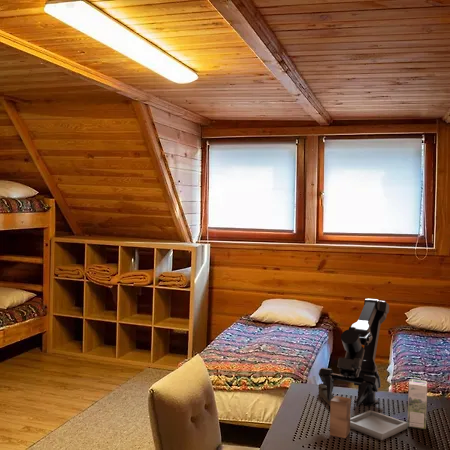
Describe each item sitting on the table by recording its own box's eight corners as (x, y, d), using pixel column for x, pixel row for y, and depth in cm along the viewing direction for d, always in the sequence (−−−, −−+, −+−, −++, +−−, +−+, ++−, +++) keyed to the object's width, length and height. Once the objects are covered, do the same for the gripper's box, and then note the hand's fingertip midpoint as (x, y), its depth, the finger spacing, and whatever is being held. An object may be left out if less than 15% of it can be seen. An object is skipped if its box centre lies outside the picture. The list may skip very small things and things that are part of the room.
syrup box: (425, 423, 190) (427, 380, 189) (425, 429, 184) (427, 385, 184) (407, 420, 192) (408, 378, 191) (407, 427, 186) (408, 383, 185)
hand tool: (342, 412, 199) (343, 399, 199) (331, 412, 199) (332, 399, 198) (326, 393, 218) (326, 381, 218) (316, 394, 217) (316, 382, 217)
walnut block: (334, 429, 184) (335, 395, 183) (350, 432, 182) (350, 398, 181) (329, 434, 180) (330, 400, 179) (345, 438, 177) (346, 403, 177)
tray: (370, 415, 196) (370, 410, 195) (407, 428, 185) (407, 422, 185) (345, 426, 186) (345, 420, 186) (382, 440, 176) (382, 434, 176)
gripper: (321, 343, 190) (308, 385, 181) (377, 351, 181) (367, 395, 172) (328, 361, 197) (316, 402, 188) (382, 369, 188) (373, 413, 179)
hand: (342, 403), depth 182 cm, fingers open, 9 cm apart
